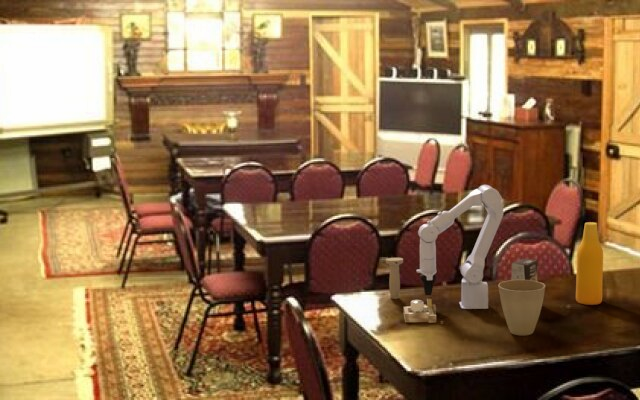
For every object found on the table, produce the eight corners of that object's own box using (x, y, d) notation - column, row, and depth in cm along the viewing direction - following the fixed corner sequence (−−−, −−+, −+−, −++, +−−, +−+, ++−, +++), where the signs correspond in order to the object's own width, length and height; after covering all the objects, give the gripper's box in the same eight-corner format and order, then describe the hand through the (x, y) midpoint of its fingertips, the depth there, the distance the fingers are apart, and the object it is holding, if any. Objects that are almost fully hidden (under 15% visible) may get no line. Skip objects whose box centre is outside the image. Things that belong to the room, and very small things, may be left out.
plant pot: (527, 323, 315) (528, 277, 313) (553, 335, 301) (554, 287, 299) (489, 328, 310) (489, 282, 308) (513, 341, 296) (514, 293, 294)
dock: (435, 310, 332) (435, 302, 332) (438, 322, 318) (438, 314, 318) (402, 311, 332) (402, 303, 332) (405, 322, 319) (405, 314, 318)
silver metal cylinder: (427, 317, 324) (427, 300, 323) (421, 321, 320) (420, 305, 318) (413, 315, 327) (413, 298, 325) (407, 319, 322) (406, 303, 321)
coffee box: (526, 309, 332) (527, 265, 329) (510, 306, 336) (510, 262, 333) (537, 303, 339) (538, 259, 336) (521, 300, 343) (521, 257, 340)
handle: (404, 299, 348) (404, 260, 345) (388, 300, 346) (387, 261, 344) (401, 295, 352) (400, 257, 350) (384, 297, 351) (384, 258, 349)
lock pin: (431, 309, 331) (431, 297, 330) (434, 318, 320) (434, 305, 319) (427, 309, 331) (427, 297, 330) (429, 318, 320) (429, 305, 319)
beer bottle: (574, 303, 337) (576, 225, 332) (577, 297, 345) (579, 220, 341) (600, 306, 333) (603, 226, 329) (603, 299, 342) (605, 221, 337)
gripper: (415, 253, 340) (415, 289, 342) (418, 262, 326) (418, 300, 328) (434, 253, 340) (434, 289, 342) (438, 262, 325) (438, 300, 328)
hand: (428, 294), depth 335 cm, fingers closed
